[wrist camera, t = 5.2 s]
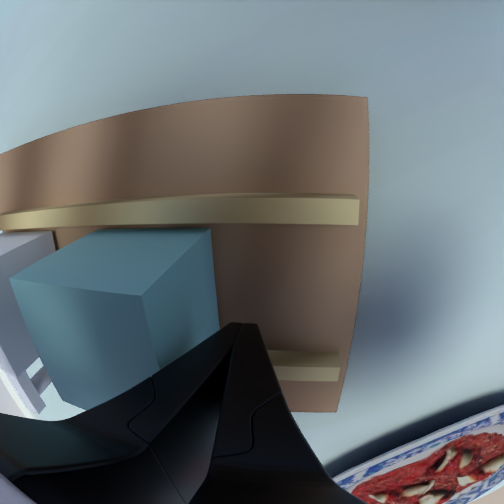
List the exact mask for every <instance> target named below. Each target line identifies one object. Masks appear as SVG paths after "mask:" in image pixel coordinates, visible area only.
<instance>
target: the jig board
mask: <svg viewBox="0 0 504 504" xmlns="http://www.w3.org/2000/svg"><path fill="white" fill-rule="evenodd" d="M368 185H369V118H368V97H359V96H345V95H323V94H274V95H252V96H237V97H226V98H215V99H206V100H198V101H191V102H184V103H177V104H171V105H165V106H159V107H154V108H148V109H143V110H138V111H134V112H129V113H125V114H120V115H116V116H112V117H108V118H104V119H100V120H96V121H93V122H89V123H86V124H82V125H79V126H75V127H72V128H69V129H66V130H63V131H60V132H57V133H54V134H51V135H48V136H45V137H42V138H39V139H37V140H34V141H31V142H29V143H26V144H24V145H21V146H19V147H16V148H14V149H12V150H9V151H7V152H5V153H2V154H0V230H2V231H3V233H10V232H32V231H52V235H53V240H54V245H55V250H56V251H57V250H59V249H61V248H63V247H65V246H66V245H68V244H70V243H72V242H74V241H76V240H78V239H80V238H82V237H84V236H86V235H88V234H90V233H91V232H93V231H95V230H97V229H140V228H210V229H211V241H212V253H213V265H214V276H215V286H216V297H217V306H218V316H219V325H220V329H221V328H223V327H224V326H226V325H227V324H228V323H230V322H239V323H256V324H258V326H259V329H260V332H261V335H262V337H263V340H264V343H265V346H266V348H267V351H268V354H269V357H270V359H271V362H272V365H273V367H274V370H275V373H276V376H277V378H278V381H279V384H280V386H281V389H282V392H283V394H284V397H285V399H286V402H287V404H288V407H289V409H290V411H291V412H337V408H338V404H339V400H340V396H341V392H342V387H343V383H344V378H345V374H346V369H347V364H348V359H349V354H350V349H351V343H352V338H353V332H354V326H355V320H356V314H357V307H358V300H359V293H360V285H361V277H362V268H363V259H364V249H365V237H366V224H367V208H368Z"/></svg>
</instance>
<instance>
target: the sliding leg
mask: <svg viewBox="0 0 504 504" xmlns="http://www.w3.org/2000/svg"><path fill="white" fill-rule="evenodd" d="M9 279H10V283H11V286H12V289H13V292H14V295H15V298H16V301H17V304H18V306H19V309H20V312H21V315H22V317H23V320H24V322H25V325H26V327H27V330H28V332H29V335H30V337H31V339H32V342H33V344H34V346H35V348H36V350H37V353H38V355H39V357H40V359H41V361H42V363H43V365H44V367H45V369H46V371H47V373H48V375H49V377H50V379H51V381H52V382H53V384H54V386H55V388H56V390H57V392H58V393H59V395H60V397H61V399H62V400H63V401H65V402H67V403H70V404H72V405H75V406H77V407H79V408H82V409H84V410H89V409H91V408H93V407H95V406H97V405H99V404H102V403H104V402H106V401H108V400H110V399H112V398H114V397H116V396H118V395H120V394H121V393H123V392H125V391H127V390H129V389H130V388H132V387H134V386H135V385H137V384H139V383H140V382H142V381H143V380H145V379H147V378H148V377H152V375H153V374H154V373H156V372H158V371H159V370H161V369H162V368H164V367H165V366H167V365H168V364H170V363H171V362H173V361H174V360H176V359H177V358H179V357H180V356H182V355H183V354H185V353H186V352H188V351H189V350H191V349H192V348H194V347H195V346H197V345H198V344H200V343H201V342H202V341H204V340H205V339H207V338H208V337H210V336H211V335H213V334H214V333H216V332H217V331H218V330H220V325H219V316H218V306H217V297H216V286H215V276H214V265H213V253H212V241H211V229H210V228H140V229H97V230H95V231H93V232H91V233H90V234H88V235H86V236H84V237H82V238H80V239H78V240H76V241H74V242H72V243H70V244H68V245H66V246H65V247H63V248H61V249H59V250H57V251H55V252H53V253H52V254H50V255H48V256H46V257H44V258H43V259H41V260H39V261H37V262H36V263H34V264H32V265H30V266H29V267H27V268H25V269H24V270H22V271H20V272H19V273H17V274H15V275H14V276H12V277H10V278H9Z"/></svg>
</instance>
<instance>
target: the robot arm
mask: <svg viewBox="0 0 504 504" xmlns="http://www.w3.org/2000/svg"><path fill="white" fill-rule="evenodd" d="M0 504H368V503H366V502H364V501H363V500H361V499H359V498H358V497H356V496H354V495H353V494H351V493H349V492H348V491H346V490H345V489H343V488H342V487H340V486H339V485H338V484H337V483H336V482H335V481H334V480H333V479H332V478H331V477H330V475H329V474H328V473H327V472H326V470H325V469H324V467H323V466H322V464H321V463H320V461H319V460H318V458H317V456H316V455H315V453H314V452H313V450H312V449H311V447H310V445H309V444H308V442H307V441H306V439H305V437H304V436H303V434H302V433H301V431H300V429H299V427H298V425H297V424H296V422H295V420H294V418H293V416H292V414H291V411H290V409H289V407H288V404H287V402H286V399H285V397H284V394H283V392H282V389H281V386H280V384H279V381H278V378H277V376H276V373H275V370H274V367H273V365H272V362H271V359H270V357H269V354H268V351H267V348H266V346H265V343H264V340H263V337H262V335H261V332H260V329H259V326H258V324H256V323H239V322H230V323H228V324H227V325H226V326H224V327H223V328H221V329H220V330H218V331H217V332H216V333H214V334H213V335H211V336H210V337H208V338H207V339H205V340H204V341H202V342H201V343H200V344H198V345H197V346H195V347H194V348H192V349H191V350H189V351H188V352H186V353H185V354H183V355H182V356H180V357H179V358H177V359H176V360H174V361H173V362H171V363H170V364H168V365H167V366H165V367H164V368H162V369H161V370H159V371H158V372H156V373H154V374H153V375H152V377H148V378H147V379H145V380H143V381H142V382H140V383H139V384H137V385H135V386H134V387H132V388H130V389H129V390H127V391H125V392H123V393H121V394H120V395H118V396H116V397H114V398H112V399H110V400H108V401H106V402H104V403H102V404H99V405H97V406H95V407H93V408H91V409H89V410H87V411H85V412H82V413H80V414H78V415H76V416H74V417H71V418H68V419H65V420H60V421H43V420H36V419H29V418H23V417H18V416H13V415H8V414H2V413H0Z"/></svg>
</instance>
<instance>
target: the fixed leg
mask: <svg viewBox="0 0 504 504" xmlns="http://www.w3.org/2000/svg"><path fill="white" fill-rule="evenodd" d="M55 251H56V250H55V245H54V240H53V235H52V231H32V232H10V233H1V234H0V368H1V369H2V370H4V371H5V373H6V375H7V376H8V378H9V380H10V381H11V383H12V385H13V387H14V388H15V390H16V391H17V393H18V395H19V396H20V398H21V399H22V401H23V403H24V404H25V406H26V407H27V408H29V409H30V410H32V411H34V412H36V413H37V414H39V413H40V412H41V411H42V410H43V409H44V407H45V406H46V405H45V403H44V402H43V400H42V399H41V397H40V394H41V393H42V392H43V391H44V390H45V389H46V388H47V386H48V385H49V384H50V383H51V382H52V381H51V379H50V377H49V375H48V373H47V371H46V369H45V367H44V366H43V367H42V368H41V369H40V370H39V371H38V372H37V373H36V374H35V375H34V376H33V377H32V378H31V379H30V378H29V376H28V374H27V373H26V371H25V370H26V369H27V368H28V367H29V366H30V365H31V364H32V363H33V362H34V361H35V360H36V359H37V358H38V357H39V355H38V353H37V350H36V348H35V346H34V344H33V342H32V339H31V337H30V335H29V332H28V330H27V327H26V325H25V322H24V320H23V317H22V315H21V312H20V309H19V306H18V304H17V301H16V298H15V295H14V292H13V289H12V286H11V283H10V279H9V278H10V277H12V276H14V275H15V274H17V273H19V272H20V271H22V270H24V269H25V268H27V267H29V266H30V265H32V264H34V263H36V262H37V261H39V260H41V259H43V258H44V257H46V256H48V255H50V254H52V253H53V252H55Z"/></svg>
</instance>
